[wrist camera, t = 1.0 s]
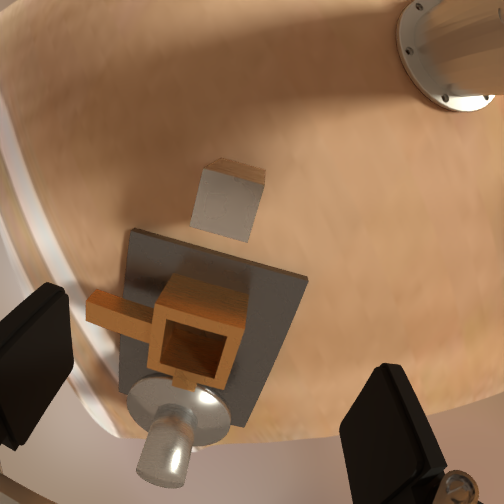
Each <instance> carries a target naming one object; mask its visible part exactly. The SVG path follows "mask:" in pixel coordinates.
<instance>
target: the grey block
mask: <svg viewBox="0 0 504 504" xmlns="http://www.w3.org/2000/svg"><path fill="white" fill-rule="evenodd" d="M265 173H266V170H264V169H261V168H257V167H254V166H250V165H246V164H243V163H239V162H236V161H232V160H228V159H224V158H220V159H218V160H216V161H215V162H213V163H211V164H210V165H208V166H207V167H205V168H203V172H202V176H201V180H200V184H199V188H198V192H197V196H196V200H195V205H194V209H193V213H192V218H191V222H190V226H189V227H193V228H197V229H200V230H204V231H207V232H211V233H214V234H218V235H222V236H225V237H229V238H232V239H236V240H239V241H243V242H246V243H247V242H248V239H249V236H250V232H251V229H252V226H253V222H254V219H255V216H256V212H257V209H258V206H259V202H260V199H261V196H262V192H263V189H264V186H265Z"/></svg>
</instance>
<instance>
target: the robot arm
mask: <svg viewBox="0 0 504 504" xmlns="http://www.w3.org/2000/svg"><path fill="white" fill-rule="evenodd" d="M396 42H397V48H398V52H399V55H400V58H401V61H402V64H403V66H404V68H405V70H406V72H407V74H408V75H409V77H410V78H411V80H412V81H413V83H414V84H415V85H416V86H417V87H418V88H419V90H420V91H421V92H422V93H423V94H424V95H425V96H427V97H428V98H429V99H430V100H431V101H433V102H434V103H436V104H438V105H439V106H441V107H443V108H446V109H448V110H451V111H456V112H473V111H478V110H480V109H482V108H484V107H485V106H487V105H488V104H489V103H490V102H491V101H492V99H493V98H494V96H495V95H504V0H414V1H413V2H412V3H410V4H409V5H408V6H407V7H406V8H405V9H404V10H403V11H402V13H401V15H400V17H399V19H398V23H397V28H396ZM406 51H407V52H408V54H407V53H406ZM442 98H443V100H442ZM73 365H74V357H73V349H72V338H71V327H70V313H69V297H68V295H67V294H65V290H64V288H62V287H60V286H57V285H54V284H52V283H49V282H46V283H44V284H43V285H41V286H40V287H39V288H38V289H37V290H36V291H34V292H33V293H32V294H31V295H30V296H28V297H27V298H26V299H25V300H24V301H23V302H22V303H20V304H19V305H18V306H17V307H16V308H15V309H14V310H12V311H11V312H10V313H9V314H8V315H7V316H6V317H5V318H4V319H2V320H1V321H0V445H1V444H4V445H5V446H7V447H9V448H10V449H12V450H14V451H16V449H17V448H18V446H19V445H24V444H25V442H26V441H27V440H28V438H29V436H30V435H31V433H32V431H33V430H34V428H35V427H36V425H37V423H38V422H39V420H40V418H41V417H42V415H43V414H44V412H45V410H46V409H47V407H48V406H49V404H50V403H51V401H52V400H53V398H54V397H55V395H56V394H57V392H58V391H59V389H60V387H61V386H62V384H63V383H64V381H65V380H66V379H67V377H68V376H69V374H70V373H71V371H72V369H73ZM339 433H340V438H341V443H342V448H343V453H344V458H345V463H346V468H347V473H348V479H349V484H350V490H351V495H352V501H353V504H483V503H481V502H479V501H478V498H479V490H478V486H477V484H476V482H475V480H474V479H473V478H472V477H471V476H470V475H469V474H467V473H466V472H463V471H460V470H453V471H449V472H448V473H447V474H445V473H444V469H445V468H446V467H447V463H446V461H445V459H444V456H443V454H442V452H441V449H440V447H439V445H438V442H437V440H436V438H435V436H434V433H433V431H432V429H431V427H430V424H429V422H428V420H427V418H426V416H425V413H424V411H423V409H422V407H421V405H420V403H419V401H418V398H417V396H416V394H415V392H414V390H413V388H412V386H411V384H410V382H409V380H408V378H407V376H406V374H405V372H404V370H403V368H402V367H401V365H398V364H389V363H382V364H381V365H380V366H379V367H376V368H375V369H374V370H373V372H372V374H371V376H370V377H369V379H368V381H367V382H366V384H365V386H364V387H363V389H362V391H361V392H360V394H359V395H358V397H357V399H356V400H355V402H354V403H353V405H352V407H351V408H350V410H349V411H348V413H347V414H346V416H345V417H344V419H343V420H342V422H341V424H340V428H339ZM0 504H57V503H55V502H53V501H51V500H49V499H47V498H45V497H43V496H41V495H39V494H37V493H35V492H33V491H31V490H30V489H28V488H26V487H24V486H22V485H21V484H19V483H17V482H15V481H13V480H12V479H10V478H8V477H7V476H5V475H3V471H2V467H1V462H0Z"/></svg>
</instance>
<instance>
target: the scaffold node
mask: <svg viewBox="0 0 504 504" xmlns="http://www.w3.org/2000/svg"><path fill="white" fill-rule="evenodd" d="M307 284H308V277H307V276H303V275H300V274H296V273H293V272H289V271H285V270H282V269H278V268H275V267H271V266H267V265H264V264H260V263H257V262H253V261H250V260H246V259H242V258H239V257H235V256H232V255H228V254H225V253H221V252H218V251H214V250H211V249H207V248H204V247H200V246H197V245H193V244H190V243H186V242H183V241H179V240H176V239H172V238H169V237H165V236H162V235H158V234H155V233H151V232H148V231H144V230H141V229H137V228H134V229H132V230H131V233H130V240H129V248H128V256H127V264H126V273H125V283H124V293H123V298H121V297H118V296H115V295H112V294H109V293H106V292H104V291H101V290H98V289H96V290H95V291H94V293H93V294H92V295H91V296H90V297H89V298H88V299H87V300H86V321H88V322H90V323H93V324H95V325H98V326H101V327H103V328H106V329H109V330H112V331H114V332H117V333H120V334H121V335H120V358H119V392H121V393H124V394H126V395H128V396H127V407H128V410H129V413H130V414H131V416H132V418H133V419H134V420H135V421H136V423H137V424H138V425H139V426H141V427H142V428H143V429H144V430H146V431H147V432H148V436H147V439H146V442H145V445H144V448H143V450H142V453H141V456H140V459H139V462H138V465H137V468H136V472H137V474H138V475H139V476H140V477H141V478H142V479H144V480H145V481H147V482H149V483H151V484H154V485H156V486H160V487H164V488H179V487H182V486H183V485H184V482H185V477H186V473H187V468H188V463H189V459H190V455H191V451H192V446H205V445H210V444H213V443H216V442H218V441H220V440H221V439H222V438H224V437H225V436H226V435H227V433H228V431H229V428H230V425H234V426H239V427H245V425H246V423H247V421H248V419H249V417H250V415H251V412H252V410H253V408H254V406H255V404H256V402H257V400H258V398H259V395H260V393H261V391H262V389H263V387H264V385H265V382H266V380H267V378H268V376H269V373H270V371H271V369H272V367H273V365H274V362H275V360H276V358H277V355H278V353H279V351H280V349H281V346H282V344H283V342H284V339H285V337H286V335H287V332H288V330H289V328H290V325H291V323H292V320H293V318H294V316H295V313H296V311H297V308H298V306H299V303H300V301H301V299H302V296H303V294H304V291H305V289H306V286H307Z"/></svg>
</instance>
